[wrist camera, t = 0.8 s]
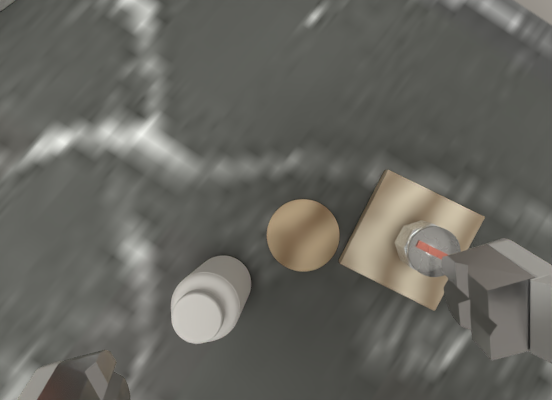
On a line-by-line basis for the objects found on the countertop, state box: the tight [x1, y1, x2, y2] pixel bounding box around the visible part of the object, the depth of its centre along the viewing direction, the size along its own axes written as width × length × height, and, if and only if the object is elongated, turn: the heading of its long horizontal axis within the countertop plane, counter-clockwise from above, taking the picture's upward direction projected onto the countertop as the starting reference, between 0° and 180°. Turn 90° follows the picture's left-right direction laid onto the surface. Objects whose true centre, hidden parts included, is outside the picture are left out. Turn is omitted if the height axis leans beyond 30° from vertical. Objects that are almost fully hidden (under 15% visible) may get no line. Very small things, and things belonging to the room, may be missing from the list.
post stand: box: [338, 170, 485, 311], centre depth 47 cm, size 14×14×9 cm
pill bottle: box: [171, 255, 251, 344], centre depth 46 cm, size 8×8×15 cm
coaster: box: [267, 199, 339, 271], centre depth 52 cm, size 10×10×1 cm
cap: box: [395, 220, 461, 277], centre depth 44 cm, size 6×6×6 cm
